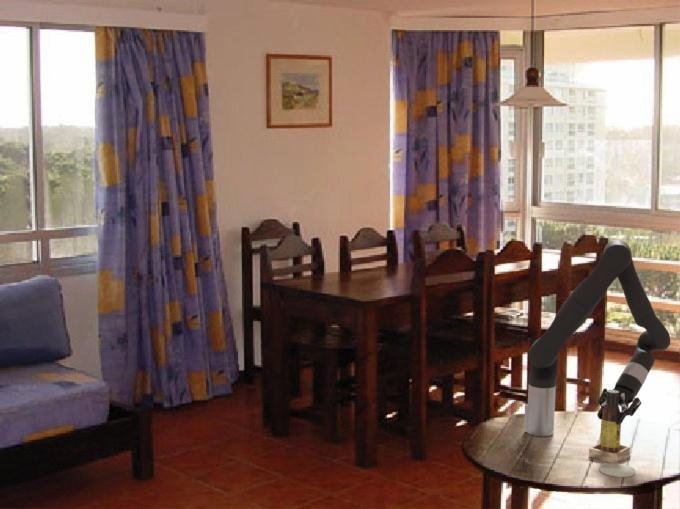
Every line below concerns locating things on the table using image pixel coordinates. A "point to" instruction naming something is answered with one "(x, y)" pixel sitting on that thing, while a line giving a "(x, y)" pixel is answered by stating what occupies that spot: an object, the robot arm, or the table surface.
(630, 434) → the table surface
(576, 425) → the table surface
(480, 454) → the table surface
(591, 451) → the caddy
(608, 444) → the sauce bottle
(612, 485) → the table surface
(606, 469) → the trivet
